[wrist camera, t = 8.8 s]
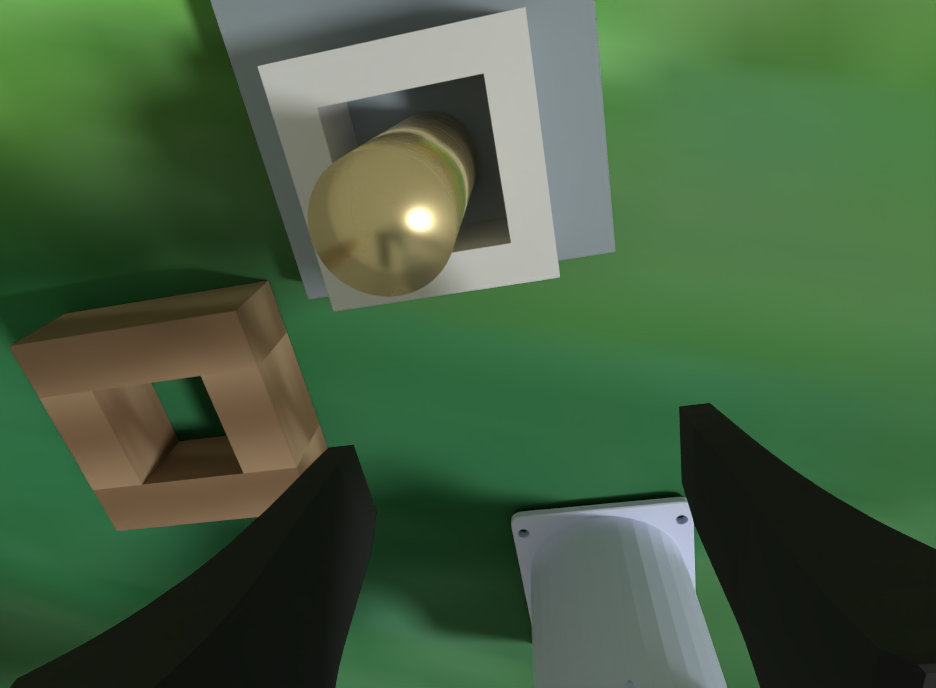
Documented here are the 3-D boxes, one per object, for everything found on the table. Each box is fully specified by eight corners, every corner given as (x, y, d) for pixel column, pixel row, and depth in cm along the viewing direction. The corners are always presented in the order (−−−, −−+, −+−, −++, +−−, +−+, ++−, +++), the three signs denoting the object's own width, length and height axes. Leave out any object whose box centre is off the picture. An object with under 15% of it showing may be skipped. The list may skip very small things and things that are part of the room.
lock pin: (483, 202, 19) (465, 289, 12) (395, 212, 20) (326, 302, 13) (472, 105, 18) (444, 139, 11) (378, 117, 18) (290, 158, 11)
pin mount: (334, 465, 27) (313, 511, 24) (155, 485, 28) (117, 531, 25) (268, 280, 23) (235, 310, 20) (65, 313, 24) (8, 346, 21)
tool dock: (609, 239, 21) (644, 309, 15) (320, 284, 23) (253, 364, 17) (554, -392, 14) (579, -695, 9) (148, -263, 16) (-63, -444, 10)
